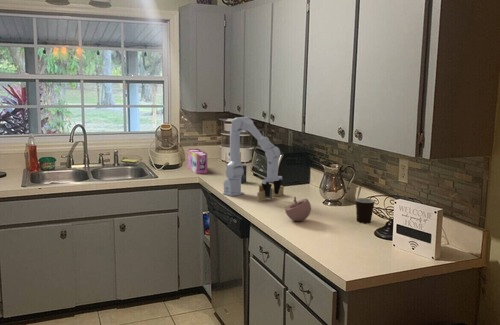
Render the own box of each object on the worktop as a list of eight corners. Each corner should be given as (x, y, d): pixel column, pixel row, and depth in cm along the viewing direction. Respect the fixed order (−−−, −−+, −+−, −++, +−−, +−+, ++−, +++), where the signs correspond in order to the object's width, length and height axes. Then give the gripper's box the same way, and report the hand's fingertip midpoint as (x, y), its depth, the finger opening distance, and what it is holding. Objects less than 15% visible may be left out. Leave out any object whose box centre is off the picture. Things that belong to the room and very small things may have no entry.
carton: (273, 197, 272) (273, 188, 271) (258, 193, 280) (258, 184, 279) (283, 194, 277) (283, 186, 276) (268, 191, 286) (268, 182, 285)
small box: (226, 181, 308) (227, 165, 306) (232, 179, 314) (232, 163, 312) (241, 183, 303) (241, 167, 302) (246, 181, 309) (247, 165, 307)
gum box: (208, 173, 332) (208, 153, 330) (197, 174, 329) (197, 154, 326) (198, 167, 354) (198, 148, 351) (187, 167, 351) (187, 149, 348)
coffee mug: (369, 225, 224) (370, 203, 222) (351, 221, 229) (352, 200, 227) (378, 219, 234) (379, 198, 232) (361, 216, 238) (362, 195, 237)
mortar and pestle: (286, 216, 237) (286, 192, 234) (311, 217, 235) (312, 194, 232) (283, 223, 225) (284, 199, 223) (309, 225, 223) (310, 200, 221)
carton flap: (273, 197, 271) (273, 185, 269) (279, 199, 267) (280, 186, 266) (257, 200, 263) (257, 188, 262) (263, 202, 259) (264, 190, 258)
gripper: (269, 173, 252) (269, 198, 255) (286, 169, 263) (286, 193, 265) (259, 171, 257) (258, 196, 259) (276, 167, 268) (275, 191, 270)
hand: (271, 195), depth 263 cm, fingers open, 7 cm apart
